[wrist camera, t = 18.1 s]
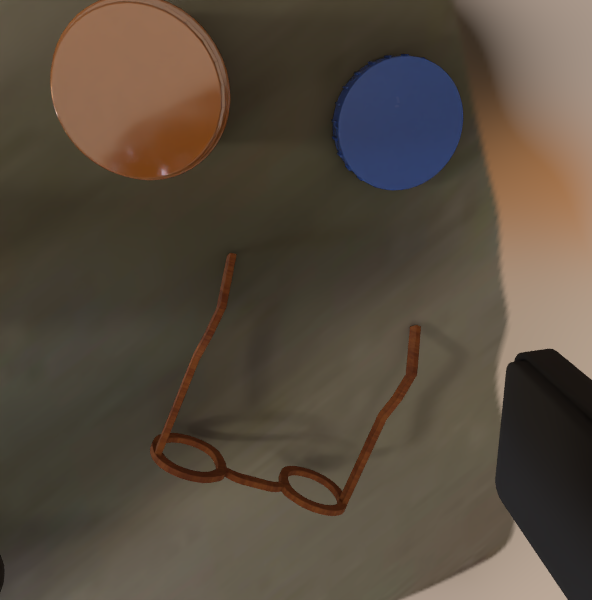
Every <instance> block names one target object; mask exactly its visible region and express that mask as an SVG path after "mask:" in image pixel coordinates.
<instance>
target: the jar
mask: <svg viewBox="0 0 592 600" xmlns="http://www.w3.org/2000/svg"><path fill="white" fill-rule="evenodd" d="M50 86H51V96H52V100H53V105H54V108H55V111H56V114H57V117H58V119H59V121H60V123H61V125H62V127H63V129H64V131H65V132H66V134H67V135H68V137H69V138H70V140H71V141H72V142H73V143H74V144H75V146H76V147H77V148H78V149H79V150H80V151H81V152H82V153H83V154H84V155H85V156H86V157H88V158H89V159H90V160H92V161H93V162H94V163H96V164H98V165H99V166H101V167H103V168H104V169H106V170H109V171H111V172H113V173H116V174H119V175H122V176H125V177H128V178H133V179H139V180H161V179H166V178H171V177H174V176H177V175H180V174H183V173H185V172H187V171H189V170H190V169H192V168H194V167H195V166H196V165H198V164H199V163H201V162H202V161H203V160H204V159H205V158H206V157H207V156H208V155H209V154H210V153H211V151H212V150H213V149H214V148H215V146H216V145H217V143H218V141H219V140H220V138H221V136H222V134H223V131H224V129H225V126H226V123H227V119H228V115H229V109H230V85H229V79H228V74H227V70H226V67H225V64H224V61H223V58H222V56H221V54H220V52H219V50H218V48H217V46H216V44H215V43H214V41H213V40H212V38H211V37H210V35H209V34H208V33H207V32H206V30H205V29H204V28H203V27H202V26H201V25H200V24H199V23H198V22H197V21H196V20H195V19H194V18H193V17H192V16H190V15H189V14H188V13H186V12H185V11H183V10H182V9H180V8H179V7H177V6H175V5H173V4H171V3H169V2H167V1H164V0H99V1H97V2H95V3H93V4H91V5H89V6H88V7H86V8H85V9H83V10H82V11H81V12H80V13H78V14H77V15H76V16H75V17H74V18H73V19H72V20H71V22H70V23H69V24H68V25H67V27H66V28H65V30H64V31H63V33H62V35H61V37H60V39H59V41H58V43H57V45H56V49H55V52H54V55H53V60H52V66H51V75H50Z"/></svg>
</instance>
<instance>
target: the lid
mask: <svg viewBox="0 0 592 600" xmlns="http://www.w3.org/2000/svg"><path fill="white" fill-rule="evenodd" d="M342 88H343V90H342V92H341V94H340V96H339V98H338V101H337V102H335V104H336V107H335V111H334V117H333V119H332V122H333V135H334V136H333V137H332V139H334V141H335V145H336V148H337V150H338V152H337V154H338V155H339V156H340V157H341V158H342V160H343V161H344V163H345V164H346V166H345V167H346V168H347V169H348V170H351V171H352V172H353V173H355V174H356V175H357V176H356V177H357V178H358V179H360V180H361V181H362V180H363V181H365V182H366V183H368V184H370V185H372V186H374V187H377V188H381V189H385V190H404V189H409V188H412V187H415V186H418V185H420V184H422V183H424V182H426V181H428V180H429V179H431V178H432V177H433V176H435V175H436V174H437V173H438V172H439V171H440V170H441V169H442V168H443V167H444V166H445V165H446V164H447V162H448V161H449V160H450V158H451V157H452V155H453V153H454V151H455V149H456V147H457V145H458V142H459V139H460V136H461V132H462V126H463V108H462V102H461V98H460V94H459V92H458V90H457V87H456V85H455V84H454V82H453V80H452V79H451V78H450V76H449V75H448V74H447V73H446V72H445V71H444V70H443V69H442V68H441V67H439V66H438V65H436V64H435V63H433V62H431V61H429V60H427V59H425V58H424V57H415V56H409V54H401V56H391V55H385V56H384V58H381V59H378V60H375V61H369V62H368V65H366V66H364V67H363V68H361V69H360V70H359V71H358V72H354V76H353V77H352V78H351V79H350V80H349V81H348V83H347V84H346V85H345V86H343V87H342Z"/></svg>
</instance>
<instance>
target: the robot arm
mask: <svg viewBox="0 0 592 600" xmlns="http://www.w3.org/2000/svg"><path fill="white" fill-rule="evenodd" d="M495 483H496V489H497V492H498V495H499V497H500V499H501V501H502V503H503V504H504V506H505V507H506V509H507V510H508V512H509V513H510V514H511V516H512V517H513V519H514V520H515V522H516V523H517V525H518V526H519V528H520V529H521V531H522V532H523V534H524V535H525V537H526V538H527V540H528V541H529V543H530V544H531V546H532V547H533V549H534V550H535V552H536V553H537V554H538V556H539V558H540V559H541V561H542V562H543V563H544V565H545V566H546V568H547V569H548V571H549V572H550V574H551V575H552V577H553V578H554V580H555V581H556V583H557V584H558V586H559V587H560V588H561V590H562V592H563V593H564V595H565V596H566V597H567V599H568V600H592V380H591V379H590V378H589V377H587V376H586V375H585V374H584V373H582V372H581V371H580V370H579V369H577V368H576V367H575V366H574V365H573V364H572V363H570V362H569V361H568V360H567V359H565V358H564V357H563V356H562V355H561V354H559V353H558V352H557V351H555V350H553V349H544V350H537V351H530V352H523V353H519V354H518V355H517V356H516V358H515V361H514V362H511V363H509V364H508V366H507V370H506V378H505V388H504V398H503V408H502V418H501V428H500V438H499V448H498V458H497V467H496V477H495ZM3 582H4V564H3V560H2V558H1V555H0V592H1V589H2V586H3Z"/></svg>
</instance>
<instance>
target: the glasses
mask: <svg viewBox="0 0 592 600" xmlns="http://www.w3.org/2000/svg"><path fill="white" fill-rule="evenodd" d="M236 255H237V254H233V253H229V254H228V255H227V258H226V263H225V268H224V273H223V278H222V283H221V288H220V293H219V298H218V303H217V308H216V310H215V312H214V314H213V316H212V318H211V321H210V323H209V325H208V327H207V329H206V331H205V333H204V335H203V337H202V339H201V341H200V342H199V344H198V346H197V348H196V350H195V352H194V353H193V356H192V358H191V361H190V363H189V366H188V368H187V371H186V373H185V376H184V378H183V381H182V383H181V386H180V388H179V391H178V393H177V396H176V398H175V401H174V403H173V406H172V408H171V411H170V413H169V416H168V418H167V421H166V424H165V426H164V429H163V431H162V434H160V435H158V436H156V437H155V438H154V440H153V442H152V444H151V447H150V454H151V457H152V459H153V460H154V462H155V463H156V464H157V465H158V466H159V467H160V468H162V469H163V470H165V471H166V472H168V473H170V474H172V475H174V476H177V477H179V478H182V479H185V480H189V481H193V482H200V483H212V482H217V481H221V480H222V479H224V476H225V477H226V478H228V479H230V480H232V481H234V482H236V483H239V484H242V485H246V486H250V487H254V488H258V489H261V490H265V491H270V492H280V491H282V492H283V494H284V495H285V496H286V497H287V498H289V499H290V500H292V501H293V502H295V503H296V504H298V505H299V506H301V507H303V508H305V509H307V510H310V511H312V512H315V513H319V514H323V515H328V516H337V515H341V514H342V513H343V512H344V511H345V509H346V506H347V504H348V501H349V499H350V497H351V495H352V493H353V491H354V488H355V486H356V484H357V482H358V480H359V478H360V476H361V473H362V471H363V469H364V467H365V465H366V463H367V460H368V458H369V456H370V454H371V452H372V450H373V448H374V445H375V443H376V441H377V439H378V437H379V435H380V432H381V430H382V428H383V426H384V424H385V422H386V420H387V418H388V417H389V416H390V414H391V413H392V412H393V411H394V409H395V408H396V407H397V406H398V404H399V403H400V402H401V401H402V399H403V397H404V396H405V394H406V392H407V391H408V389H409V387H410V386H411V384H412V382H413V381H414V379H415V377H416V376H417V369H418V356H419V344H420V331H421V326H418V325H414V326H411V327H410V333H409V345H408V356H407V367H406V375H405V376H404V378H403V380H402V381H401V383H400V385H399V386H398V388H397V389H396V391H395V393H394V394H393V396H392V397H391V398H390V400H389V401H388V402H387V404H386V405H385V406H384V407H383V409H382V410H381V411H380V412H379V414H378V416H377V418H376V420H375V422H374V424H373V427H372V429H371V431H370V433H369V435H368V437H367V440H366V442H365V444H364V446H363V448H362V450H361V453H360V455H359V457H358V459H357V461H356V463H355V466H354V468H353V470H352V472H351V474H350V476H349V479H348V481H347V483H346V485H345V487H344V489H343V492H342V490H341V489H340V488H339V487H338V486H337V485H336V484H335V483H334V482H333V481H331V480H330V479H328V478H327V477H325V476H324V475H322V474H320V473H317V472H315V471H313V470H310V469H307V468H303V467H298V466H286V467H284V468H282V470H281V472H280V475H279V482H272V481H267V480H264V479H260V478H256V477H252V476H249V475H245V474H241V473H238V472H235V471H233V470H231V469H229V468H227V467H226V463H225V461H224V459H223V457H222V455H221V454H220V452H219V451H218V450H217V449H216V448H215V447H213V446H212V445H210V444H208V443H206V442H204V441H202V440H200V439H197V438H195V437H192V436H188V435H184V434H179V433H170V432H171V429H172V427H173V424H174V422H175V419H176V417H177V414H178V412H179V409H180V407H181V405H182V402H183V400H184V397H185V395H186V392H187V390H188V387H189V385H190V382H191V380H192V377H193V375H194V372H195V370H196V367H197V365H198V362H199V360H200V358H201V356H202V354H203V352H204V351H205V349H206V347H207V345H208V343H209V342H210V340H211V338H212V336H213V334H214V332H215V330H216V328H217V326H218V324H219V322H220V320H221V317H222V315H223V313H224V311H225V309H226V306H227V301H228V296H229V291H230V285H231V280H232V275H233V270H234V265H235V260H236ZM170 442H175V443H183V444H187V445H190V446H193V447H196V448H198V449H200V450H202V451H204V452H205V453H207V454H208V455H209V456H210V457H211V458H212V459H213V461H214V463H215V466H216V469H215V470H213V471H209V472H199V471H193V470H189V469H186V468H183V467H181V466H178V465H176V464H174V463H173V462H171V461H170V460H168V459H167V458H166V457H165V456H164V454H163V453H162V452H163V449H164V447H165V444H166V443H170ZM291 475H298V476H304V477H307V478H310V479H313V480H315V481H317V482H319V483H321V484H322V485H324V486H325V487H327V488H328V489H329V490H330V491H331V492H332V493H333V495H334V496H335V498H336V500H337V504H336V505H324V504H319V503H316V502H314V501H311V500H309V499H307V498H305V497H303V496H302V495H300V494H299V493H297V492H296V491H295V490H294V489H293V488H292V487H291V485H290V483H289V481H288V476H291Z"/></svg>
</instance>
